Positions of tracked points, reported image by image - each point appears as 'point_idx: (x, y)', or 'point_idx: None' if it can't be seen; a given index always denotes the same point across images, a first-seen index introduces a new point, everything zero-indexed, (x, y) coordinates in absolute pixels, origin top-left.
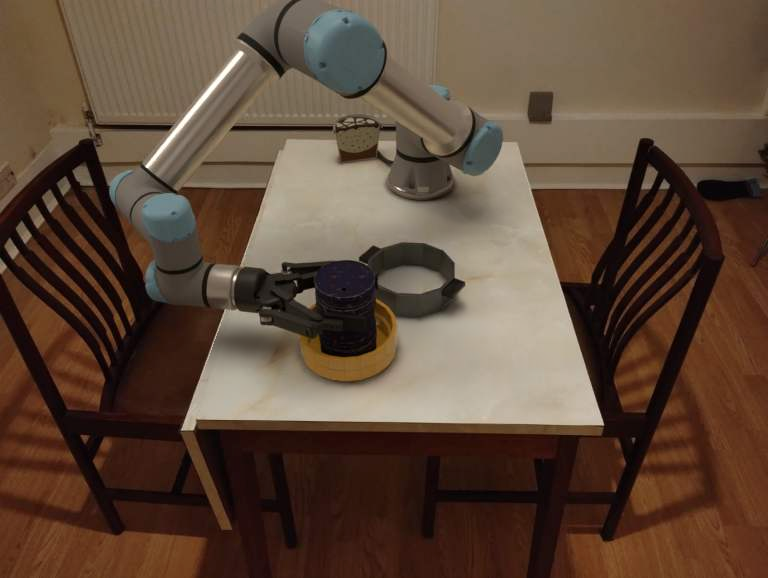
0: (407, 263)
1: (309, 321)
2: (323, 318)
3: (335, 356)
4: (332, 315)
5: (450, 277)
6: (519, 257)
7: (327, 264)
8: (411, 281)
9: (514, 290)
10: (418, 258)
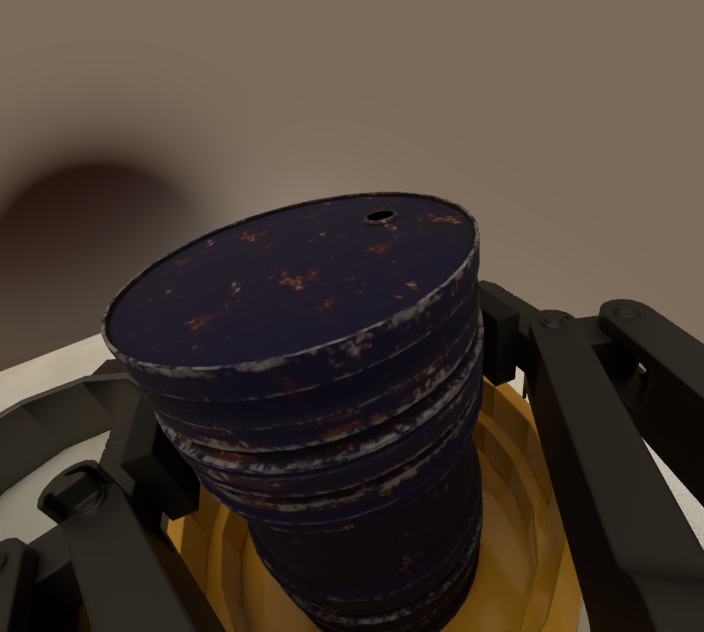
0: None
1: (625, 326)
2: (523, 329)
3: (515, 406)
4: (487, 294)
5: (86, 380)
6: (3, 390)
7: (155, 364)
8: (27, 540)
9: (109, 358)
10: None
